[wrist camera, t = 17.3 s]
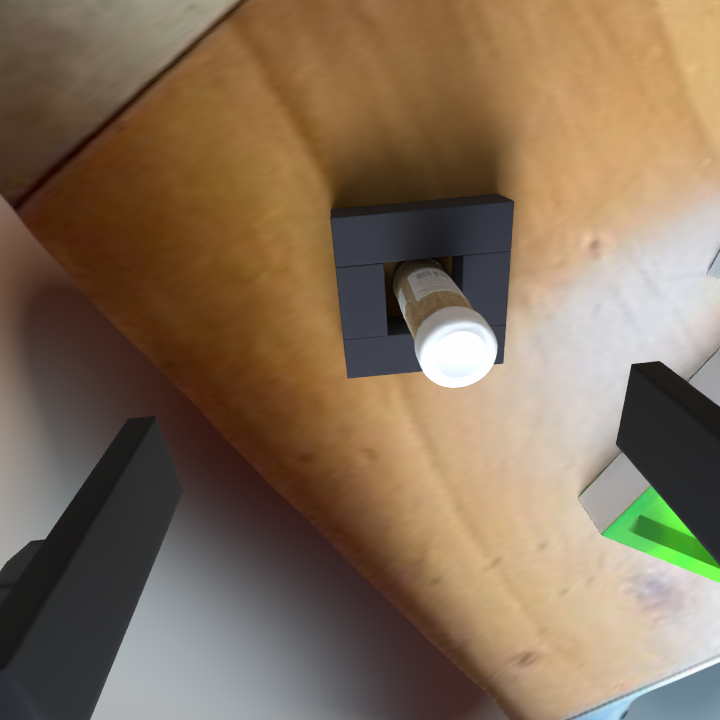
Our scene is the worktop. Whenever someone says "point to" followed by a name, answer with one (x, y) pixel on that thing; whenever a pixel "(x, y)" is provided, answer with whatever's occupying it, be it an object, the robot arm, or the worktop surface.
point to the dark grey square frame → (411, 242)
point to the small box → (715, 269)
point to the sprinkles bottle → (443, 325)
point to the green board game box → (650, 503)
